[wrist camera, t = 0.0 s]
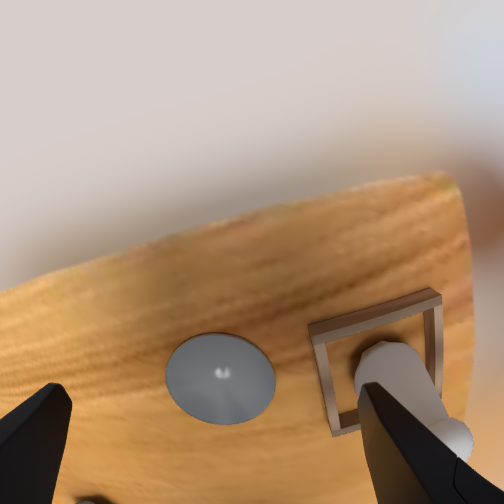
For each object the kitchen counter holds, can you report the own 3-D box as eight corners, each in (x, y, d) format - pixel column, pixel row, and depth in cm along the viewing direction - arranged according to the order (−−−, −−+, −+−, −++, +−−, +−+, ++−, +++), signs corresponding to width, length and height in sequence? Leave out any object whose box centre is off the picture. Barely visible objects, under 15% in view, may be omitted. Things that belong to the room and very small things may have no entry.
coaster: (234, 434, 26) (233, 438, 25) (149, 385, 25) (147, 388, 25) (297, 371, 25) (298, 375, 24) (204, 311, 24) (202, 313, 23)
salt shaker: (371, 400, 25) (423, 507, 12) (333, 366, 24) (380, 485, 12) (420, 356, 24) (498, 447, 11) (387, 317, 24) (474, 411, 11)
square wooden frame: (432, 388, 25) (441, 399, 23) (328, 423, 26) (332, 437, 24) (429, 287, 23) (441, 294, 21) (308, 325, 24) (311, 336, 22)
